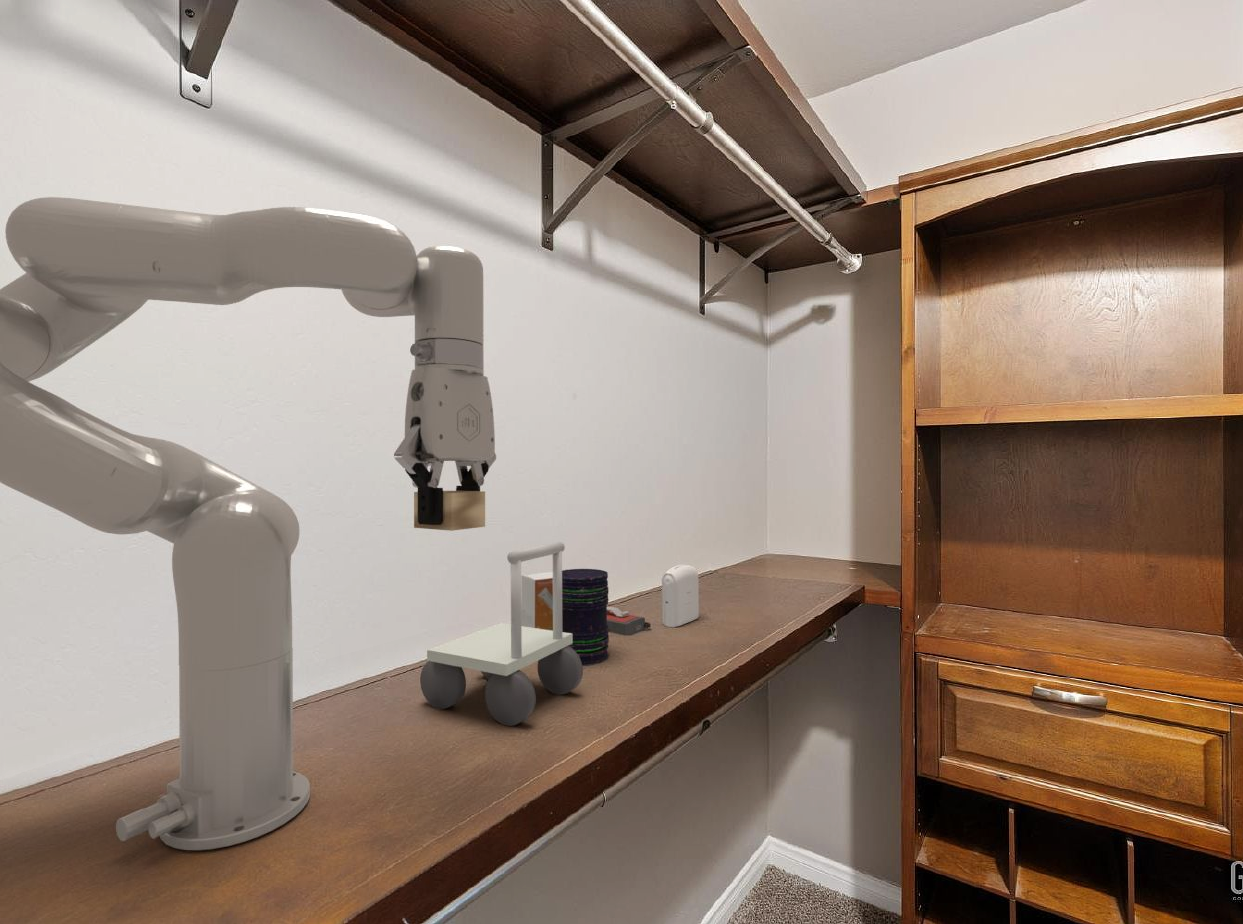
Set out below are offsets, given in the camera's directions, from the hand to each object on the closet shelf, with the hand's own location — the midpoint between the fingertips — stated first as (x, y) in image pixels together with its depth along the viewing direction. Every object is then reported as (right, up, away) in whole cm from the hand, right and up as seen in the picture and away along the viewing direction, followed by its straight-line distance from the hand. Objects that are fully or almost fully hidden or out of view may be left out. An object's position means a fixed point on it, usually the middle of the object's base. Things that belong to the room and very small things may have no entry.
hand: (449, 520), depth 68 cm
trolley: (+2, -28, +20) cm, 35 cm away
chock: (0, -1, 0) cm, 1 cm away
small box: (+5, -29, +50) cm, 57 cm away
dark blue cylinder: (+12, -29, +40) cm, 51 cm away
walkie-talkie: (+16, -29, +62) cm, 70 cm away
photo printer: (+32, -29, +63) cm, 77 cm away
